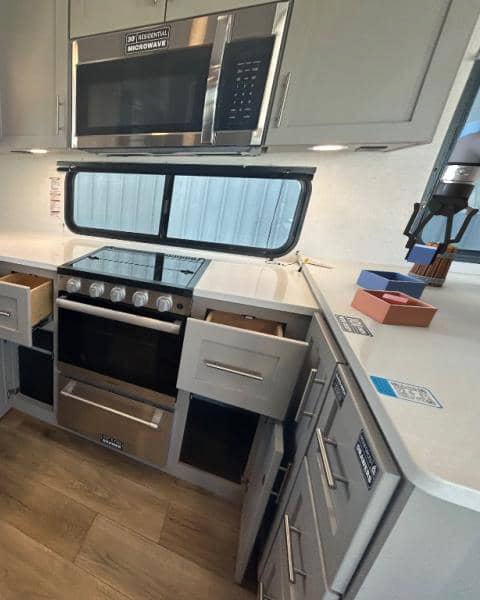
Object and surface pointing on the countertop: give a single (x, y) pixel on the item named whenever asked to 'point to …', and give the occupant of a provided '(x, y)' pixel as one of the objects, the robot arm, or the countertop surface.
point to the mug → (434, 267)
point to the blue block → (421, 254)
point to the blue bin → (391, 282)
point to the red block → (394, 299)
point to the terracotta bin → (393, 308)
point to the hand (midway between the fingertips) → (418, 261)
